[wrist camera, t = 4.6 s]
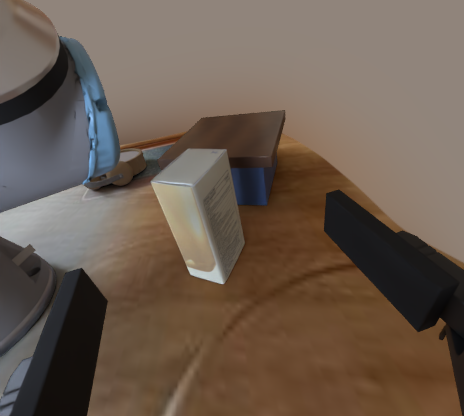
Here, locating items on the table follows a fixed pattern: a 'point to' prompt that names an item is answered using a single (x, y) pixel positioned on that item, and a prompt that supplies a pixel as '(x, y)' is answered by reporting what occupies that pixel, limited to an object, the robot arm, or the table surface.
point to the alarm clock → (121, 170)
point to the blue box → (253, 184)
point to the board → (234, 139)
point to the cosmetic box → (202, 211)
